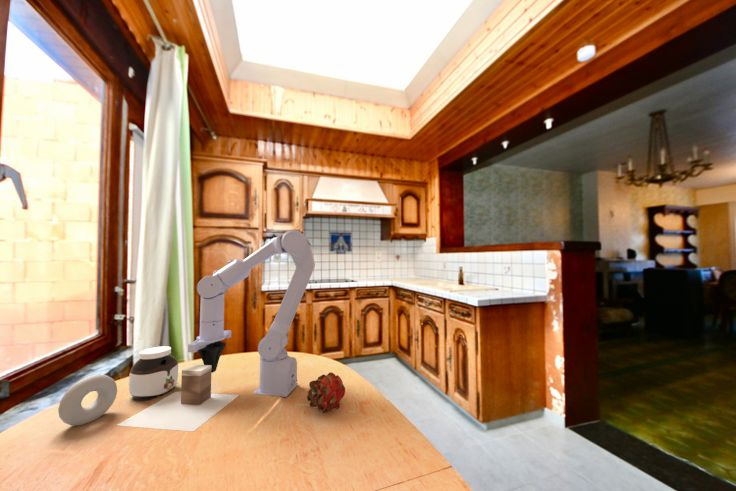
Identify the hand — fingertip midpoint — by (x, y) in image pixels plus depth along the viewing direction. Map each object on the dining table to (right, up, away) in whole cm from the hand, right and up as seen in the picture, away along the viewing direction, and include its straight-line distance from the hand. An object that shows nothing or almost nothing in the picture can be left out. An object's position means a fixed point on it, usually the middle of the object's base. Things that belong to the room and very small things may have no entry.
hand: (210, 371), depth 76 cm
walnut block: (-1, -5, -6) cm, 7 cm away
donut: (-19, -5, -14) cm, 24 cm away
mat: (-1, -5, -10) cm, 11 cm away
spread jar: (-16, -6, 0) cm, 17 cm away
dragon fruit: (+32, -5, -8) cm, 34 cm away
